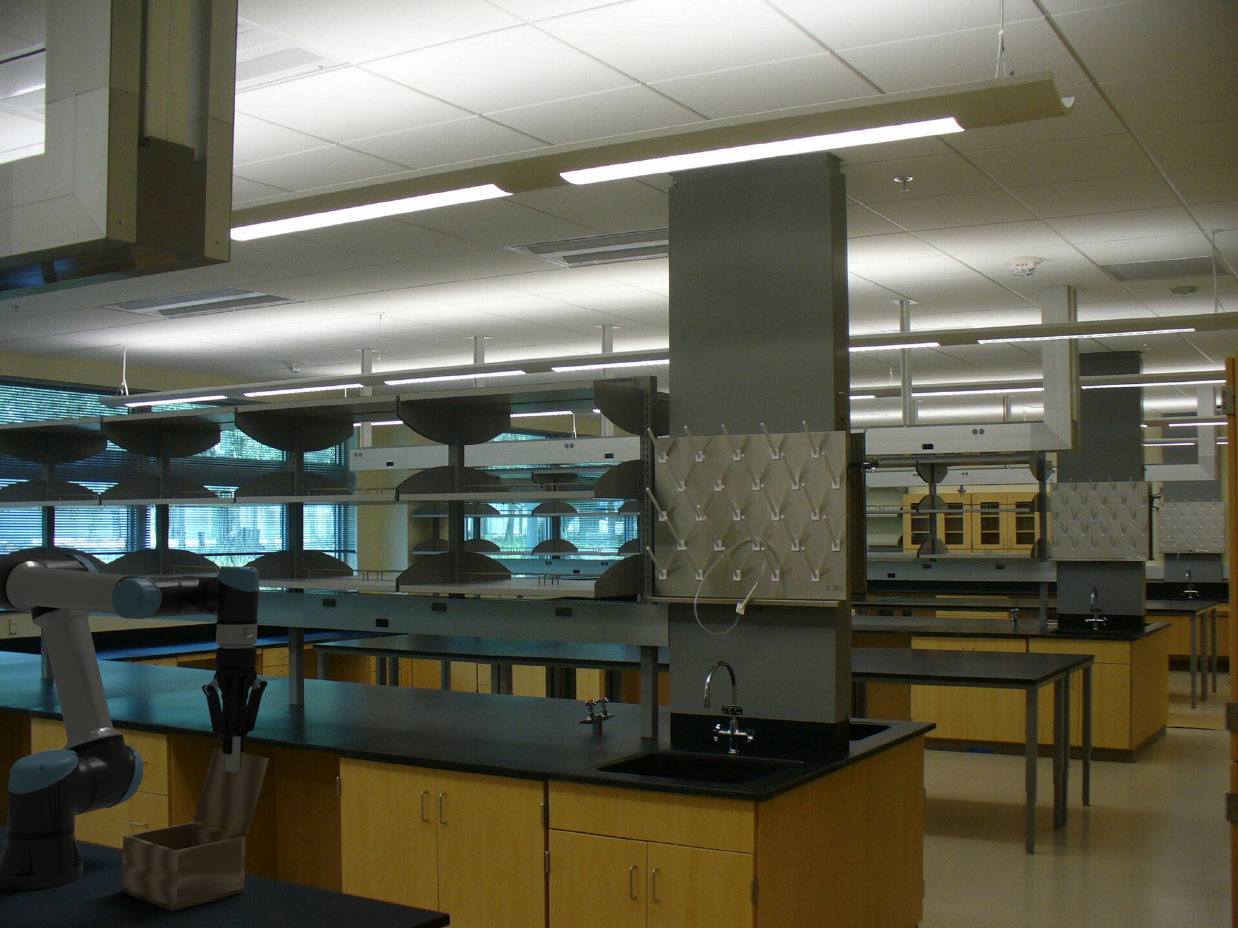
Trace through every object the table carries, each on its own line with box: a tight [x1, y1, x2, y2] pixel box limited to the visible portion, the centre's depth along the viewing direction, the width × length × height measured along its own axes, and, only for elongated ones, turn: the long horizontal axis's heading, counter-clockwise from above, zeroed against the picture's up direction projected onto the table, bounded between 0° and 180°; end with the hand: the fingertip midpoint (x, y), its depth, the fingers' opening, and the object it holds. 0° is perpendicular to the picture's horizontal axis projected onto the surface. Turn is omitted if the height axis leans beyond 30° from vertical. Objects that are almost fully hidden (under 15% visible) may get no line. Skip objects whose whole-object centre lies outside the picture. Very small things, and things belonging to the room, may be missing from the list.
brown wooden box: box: [120, 821, 246, 912], centre depth 207 cm, size 18×14×10 cm
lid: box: [193, 747, 270, 836], centre depth 215 cm, size 18×14×1 cm
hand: (232, 770), depth 215 cm, fingers closed
